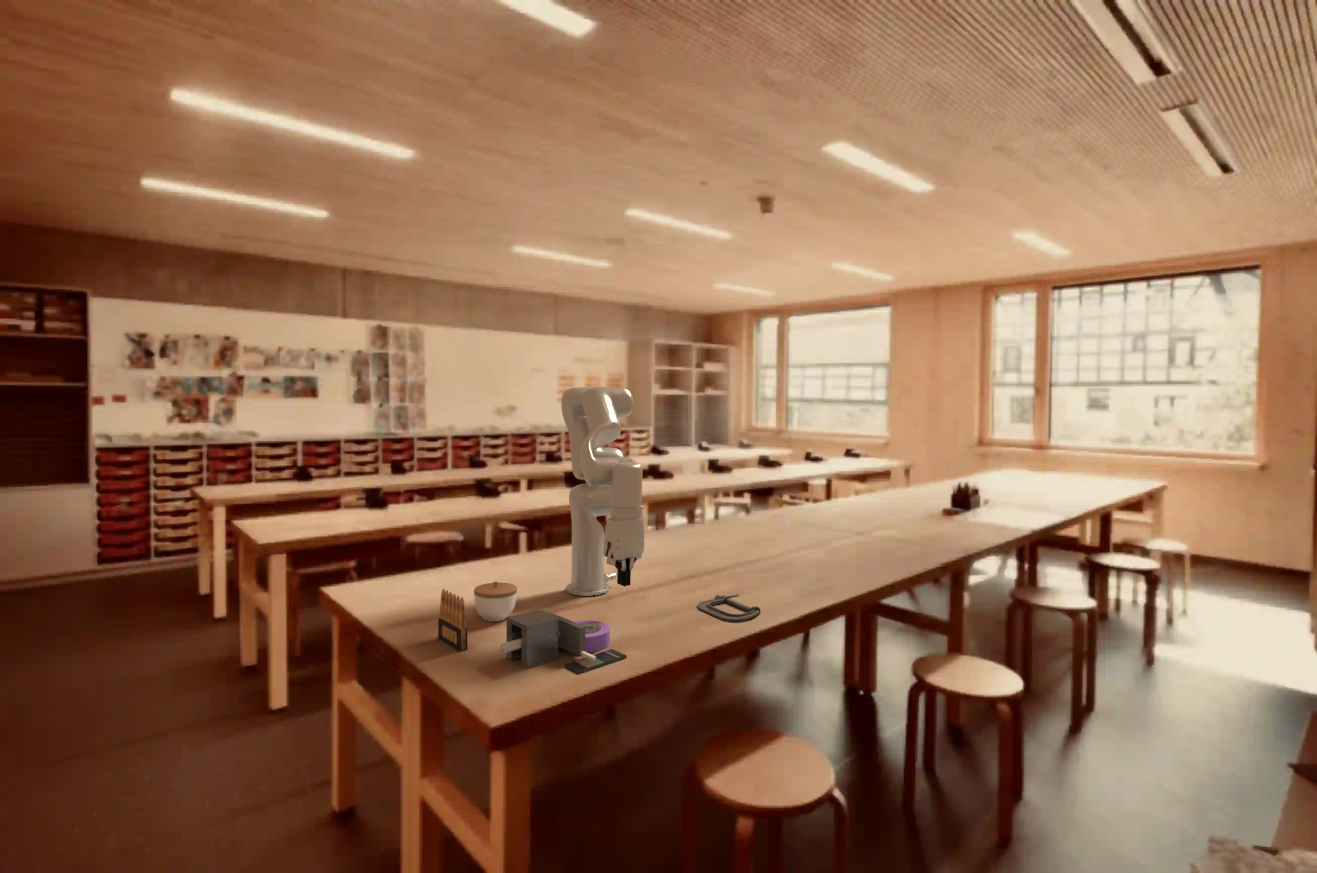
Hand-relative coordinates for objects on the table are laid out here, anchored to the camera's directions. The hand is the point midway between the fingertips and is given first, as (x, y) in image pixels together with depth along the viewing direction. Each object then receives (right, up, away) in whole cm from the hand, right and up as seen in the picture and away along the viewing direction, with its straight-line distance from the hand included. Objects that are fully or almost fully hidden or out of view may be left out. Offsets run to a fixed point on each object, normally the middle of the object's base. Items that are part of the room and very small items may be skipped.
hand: (623, 584), depth 169 cm
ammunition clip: (-38, -11, -14) cm, 42 cm away
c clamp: (+29, -11, +16) cm, 35 cm away
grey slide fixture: (-11, -12, -21) cm, 26 cm away
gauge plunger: (-17, -10, -22) cm, 30 cm away
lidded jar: (-33, -10, +5) cm, 35 cm away
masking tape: (-8, -12, -12) cm, 18 cm away
